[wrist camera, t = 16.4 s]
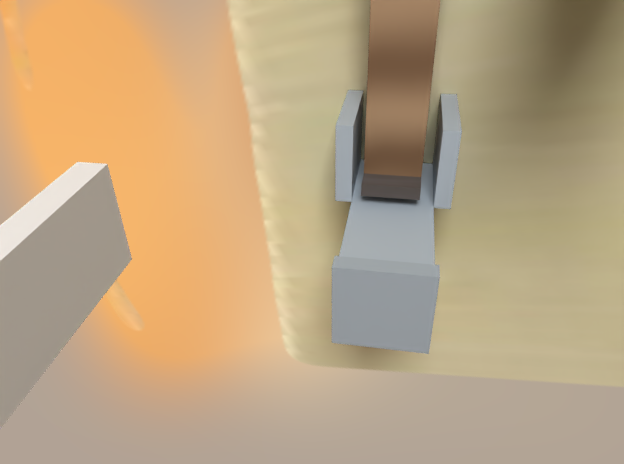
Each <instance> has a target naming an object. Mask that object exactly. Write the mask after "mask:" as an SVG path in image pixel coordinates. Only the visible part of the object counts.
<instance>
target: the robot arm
mask: <svg viewBox="0 0 624 464" xmlns="http://www.w3.org/2000/svg"><path fill="white" fill-rule="evenodd" d="M131 260H132V258H131V254H130V250H129V246H128V242H127V238H126V235H125V231H124V227H123V223H122V219H121V215H120V211H119V207H118V203H117V200H116V196H115V192H114V188H113V184H112V180H111V176H110V173H109V169H108V165H107V164H99V163H84V162H77V163H76V164H75V165H73V166H72V167H71V168H69V169H68V170H67V171H66V172H65V173H63V174H62V175H61V176H60V177H59V178H57V179H56V180H55V181H54V182H52V183H51V184H50V185H49V186H48V187H47V188H45V189H44V190H43V191H42V192H40V193H39V194H38V195H37V196H35V198H33V199H32V200H31V201H29V202H28V203H27V204H26V205H25V206H23V207H22V208H21V209H20V210H18V211H17V212H16V213H15V214H14V215H12V216H11V217H10V218H9V219H7V220H6V221H5V222H4V223H3V224H1V225H0V429H1V428H2V426H3V425H4V424H5V423H6V421H7V420H8V419H9V417H10V416H11V415H12V414H13V412H14V411H15V410H16V408H17V407H18V406H19V405H20V403H21V402H22V401H23V399H24V398H25V397H26V395H27V394H28V393H29V392H30V390H31V389H32V388H33V386H34V385H35V384H36V382H37V381H38V380H39V379H40V377H41V376H42V375H43V373H44V372H45V371H46V369H47V368H48V367H49V366H50V364H51V363H52V362H53V360H54V359H55V358H56V357H57V355H58V354H59V353H60V351H61V350H62V349H63V348H64V346H65V345H66V344H67V342H68V341H69V340H70V339H71V337H72V336H73V334H74V333H75V332H76V331H77V329H78V328H79V327H80V325H81V324H82V323H83V322H84V320H85V319H86V318H87V316H88V315H89V314H90V313H91V311H92V310H93V309H94V307H95V306H96V305H97V304H98V302H99V301H100V300H101V298H102V297H103V295H105V293H106V292H107V291H108V289H109V288H110V287H111V285H112V284H113V283H114V282H115V280H116V279H117V278H118V276H119V275H120V274H121V272H122V271H123V270H124V268H125V267H126V266H127V265H128V263H129V262H130V261H131Z"/></svg>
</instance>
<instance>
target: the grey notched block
mask: <svg viewBox="0 0 624 464" xmlns="http://www.w3.org/2000/svg"><path fill="white" fill-rule="evenodd" d="M362 117H363V91H360V90H348V92H347V95H346V98H345V101H344V104H343V106H342V109H341V112H340V115H339V118H338V120H337V123H336V185H335V201H346V202H351V206H350V210H349V215H348V219H347V224H346V228H345V232H344V237H343V241H342V246H341V250H340V254H339V256H335V257H334V261H333V265H332V343H339V344H347V345H356V346H365V347H374V348H382V349H391V350H400V351H409V352H417V353H426V354H429V348H430V341H431V334H432V327H433V320H434V313H435V306H436V299H437V292H438V285H439V278H440V272H439V265H435V250H434V208H443V209H451V202H452V196H453V189H454V182H455V175H456V168H457V161H458V154H459V147H460V140H461V134H462V129H461V122H460V114H459V107H458V100H457V94H441V97H440V105H439V114H438V123H437V131H436V140H435V148H434V157H433V164H431V163H423V165H422V175H421V193H420V200H412V199H398V198H385V197H371V196H361V184H362V179H363V175H364V159H361V146H362Z"/></svg>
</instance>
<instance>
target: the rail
mask: <svg viewBox="0 0 624 464" xmlns="http://www.w3.org/2000/svg"><path fill="white" fill-rule="evenodd" d="M439 8H440V0H371V7H370V32H369V57H368V81H367V106H366V131H365V155H364V175H363V179H362V184H361V196H371V197H385V198H398V199H412V200H420V193H421V175H422V165H423V156H424V147H425V138H426V128H427V119H428V110H429V101H430V91H431V82H432V73H433V63H434V54H435V45H436V36H437V26H438V17H439Z"/></svg>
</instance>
